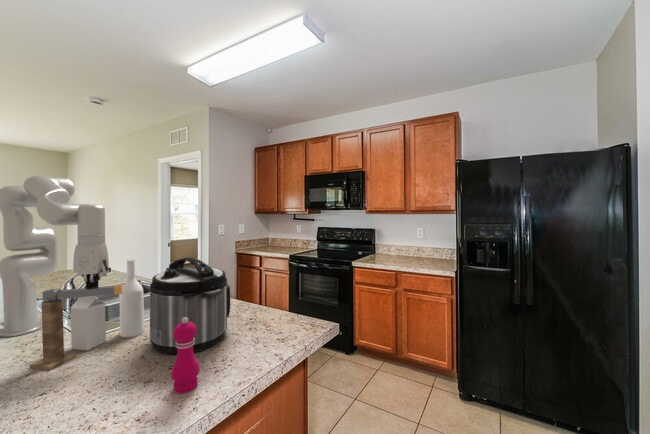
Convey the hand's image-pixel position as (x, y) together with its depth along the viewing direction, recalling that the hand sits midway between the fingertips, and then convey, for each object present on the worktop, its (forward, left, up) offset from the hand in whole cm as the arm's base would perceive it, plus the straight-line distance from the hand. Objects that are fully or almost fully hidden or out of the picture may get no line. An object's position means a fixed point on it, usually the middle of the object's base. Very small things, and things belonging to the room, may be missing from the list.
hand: (92, 292), depth 102 cm
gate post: (-6, -8, -21) cm, 24 cm away
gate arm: (+1, -3, -1) cm, 4 cm away
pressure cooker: (+28, +16, -22) cm, 38 cm away
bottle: (+1, +16, -22) cm, 27 cm away
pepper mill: (+45, -12, -22) cm, 51 cm away
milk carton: (-6, +4, -22) cm, 23 cm away
